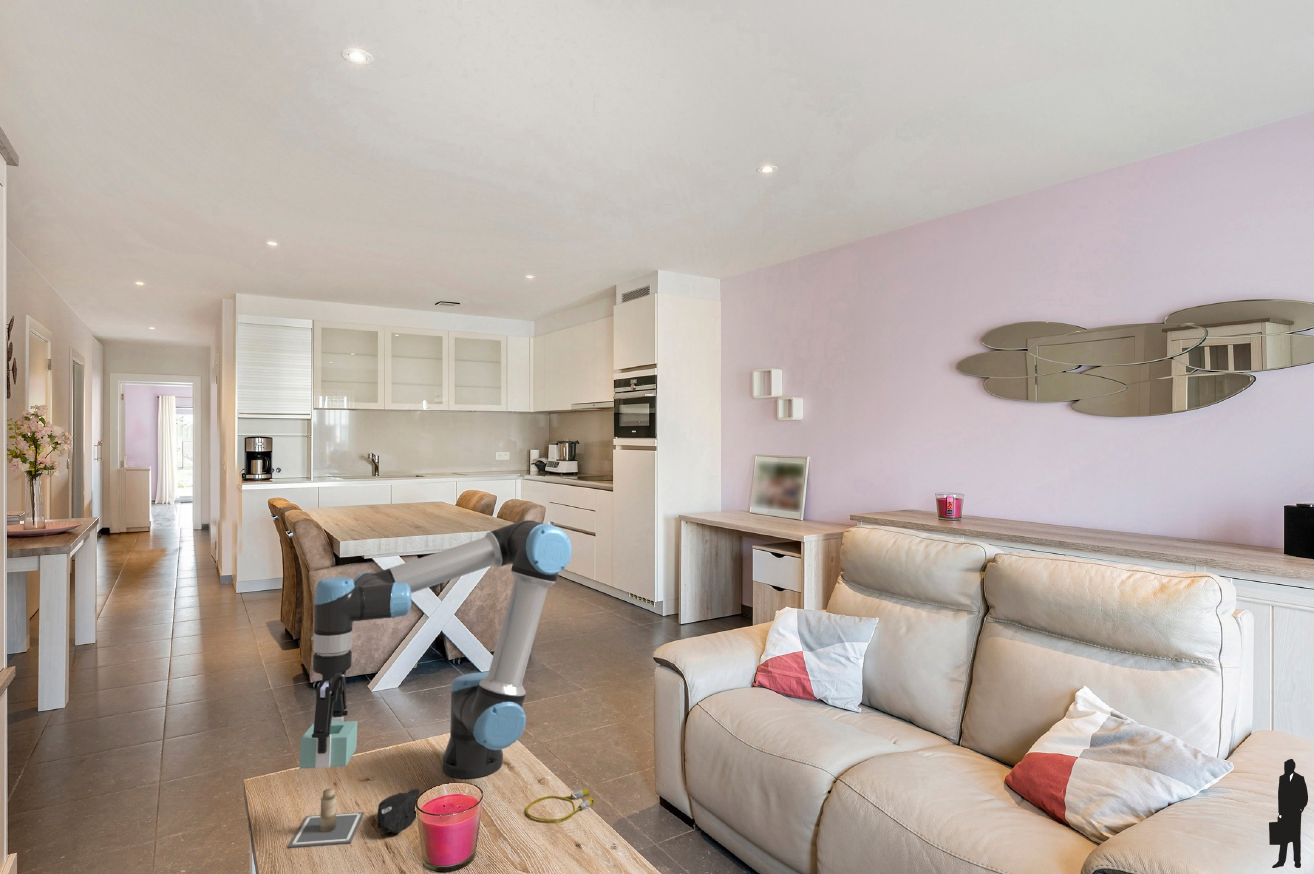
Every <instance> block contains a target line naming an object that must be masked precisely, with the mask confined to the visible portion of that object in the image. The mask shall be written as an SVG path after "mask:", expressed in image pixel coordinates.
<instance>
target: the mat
mask: <svg viewBox="0 0 1314 874" xmlns="http://www.w3.org/2000/svg"><path fill="white" fill-rule="evenodd" d="M364 814H365V811H362V812H360V811H359V812H347V813H346V812H345V813H344V812H343V813H336V828H335V829H334V830H332V831H330V832H321V831H320V814H319V815H318V814H317V815H306V816H305V818H304V819H303V821H302V823H301V824H300V826H299V828H298V829H297V831H296V833H295V835H294V836H293V837H292V840H291V841H290V843H289V844H288V847H287V848H288V849H294V848H295V849H296V848H307V847H318V846H319V847H320V846H334V845H335V846H336V845H346V844H351V843H352V842H353V839H354V837H355V834H356V833H357V830H358V827H360V824H361V822H362V819H363V816H364Z"/></svg>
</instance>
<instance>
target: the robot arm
mask: <svg viewBox="0 0 1314 874" xmlns="http://www.w3.org/2000/svg"><path fill="white" fill-rule="evenodd" d="M572 551H573V549H572V543H571V540H570V538H569V537H568V535H567V534H566V533H565V531H563V530H562V529H561V528H559V527H557V526H555V525H552V524H549V523H543V522H539V521H536V520H529V519H527V520H521V521H518V522H514V523H511V524H508V525H505V526H502V527H499V528H497V529H493V530H490V531H488V532H486V534H485V535H484V537H482V538H479V539H476V540H472V541H470V542H465V543H464V544H460V545H456V546H454V547H451V548H447V549H445V550H441V551H438V552H435V553H432V554H429V555H426V556H423V557H419V558H417V559H413V560H410V561H408V562H407V561H406V562H404V563H401V564H398V565H395V566H392V567H389V568H386V569H382V570H379V571H376V572H372V571H365V572H362V573H359V574H358V575H356V576H355V577H354V578H352V577H347V576H346V577H345V576H334V577H332V576H331V577H327V578H326V577H325V578H323V579H321V580H319V581H318V582H317V583H316V585H315V586H316V587H315V594H314V602H313V603H314V614H313V615H314V617H313V618H314V620H313V621H314V623H313V626H314V627H313V629H314V630H313V635H312V636H311V638H310V639H311V641H313V652H314V654H313V655H312V671H313V672H314V673H315V674H320V675H321V676H322V677H321V680H320V681H319V683H318V684H319V685H318V686H317V687H316V690H315V694H316V699H315V701H316V702H315V712H314V722H313V723H314V731H313V734H312V738H316V763H315V768H314V769H328V768H331V767H330V759H331V735H330V728H331V722H343V721H344V716H346V717H347V716H348V712H349V711H348V710H346V709H347V685H346V684H347V683H346V678H347V677H346V676H347V675H346V674H347V671H348V670H349V669H351V667H352V655H353V654H352V653H353V652H352V650H351V649H352V648H353V624H354V622H361V621H370V620H371V621H372V620H380V619H394V618H399V617H403V616H404V617H405V616H407V615H408V614H409V612H410V611H411V607H412V594H413V593H416V592H419V591H422V590H424V589H427V588H430V587H433V586H436V585H439V584H442V583H444V582H448V581H452V580H454V579H457V578H460V577H463V576H466V575H469V574H471V573H474V572H475V573H476V572H478V571H480V570H483V569H486V568H488V567H492V566H494V567H496V568H501V567H503V566H508V565H512V566H511V569H510V573H511V575H512V576H513V579H514V580H513V584H512V588H511V592H510V595H509V599H508V603H507V606H506V610H505V613H504V616H503V619H502V624H501V628H500V631H499V634H498V637H497V641H496V644H495V649H494V651H493V655H492V658H491V662H490V666H489V670H488V672H472V673H467V674H462V675H459V676H457V677H455V678H454V679H453V680H452V681H451V688H450V689H451V690H450V735H449V739H448V742H447V745H446V747H445V752H444V754H443V757H442V762H441V763H442V769H441V770H442V771H443V773H444V774H446V775H448V776H450V777H453V778H457V779H476V778H482V777H486V776H489V775H491V774H494V773H496V771H498V770H500V769H501V768H502V766H503V765H504V764H503V763H504V753H503V750H504V749H507V748H509V747H510V746H511V745H513V744H514V743H516V742H517V741H518V740H519V738H520V737H521V736H522V735H523V732H524V730H525V728H526V723H527V722H526V721H527V720H526V719H527V717H526V713H525V711H524V709H523V705H524V701H525V699H526V694H527V691H526V689H525V688H524V686H523V680H524V678H525V674H526V669H527V666H528V662H529V659H530V656H531V652H532V648H533V645H534V641H535V638H536V633H537V631H538V627H539V622H540V619H541V615H542V612H543V608H544V604H545V600H546V597H547V594H548V589H550V587H551V586H553V585H554V584H556V583H557V580H558V576H559V573H560V572H562V571H563V570H565V569H566V567H567V566H568V564H570V560H571V558H572V557H571V556H572Z"/></svg>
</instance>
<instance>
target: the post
mask: <svg viewBox="0 0 1314 874" xmlns="http://www.w3.org/2000/svg"><path fill="white" fill-rule="evenodd" d="M336 814H337V795H336V794H335V788H332V787H330V788H326V789H324V790H323V792H322V797H321V798H320V814H319V815H320V831H321V832H330V831H332V830H334V829H335V828H336Z"/></svg>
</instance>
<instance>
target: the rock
mask: <svg viewBox="0 0 1314 874" xmlns="http://www.w3.org/2000/svg"><path fill="white" fill-rule="evenodd" d="M418 797H419V798H420V790H419V789H418V788H413V789H410V790H408V791H407V792H398V793H395V794H393V795H390V796H388V797H386V798H384V799H383V800H381V801H380V802H379V803H378V808H377V815H376V818H377V819H376V820H377V821H376V822H377V829H379V830H381V834H383V835H385V834H388V833H393V834H399V833H400V832H402V831H403V830H404V829H407V828H408V827H411V826H412V824H413V822H415V820H416V818H417V817H416V811H415V804H416V799H417V798H418Z"/></svg>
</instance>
